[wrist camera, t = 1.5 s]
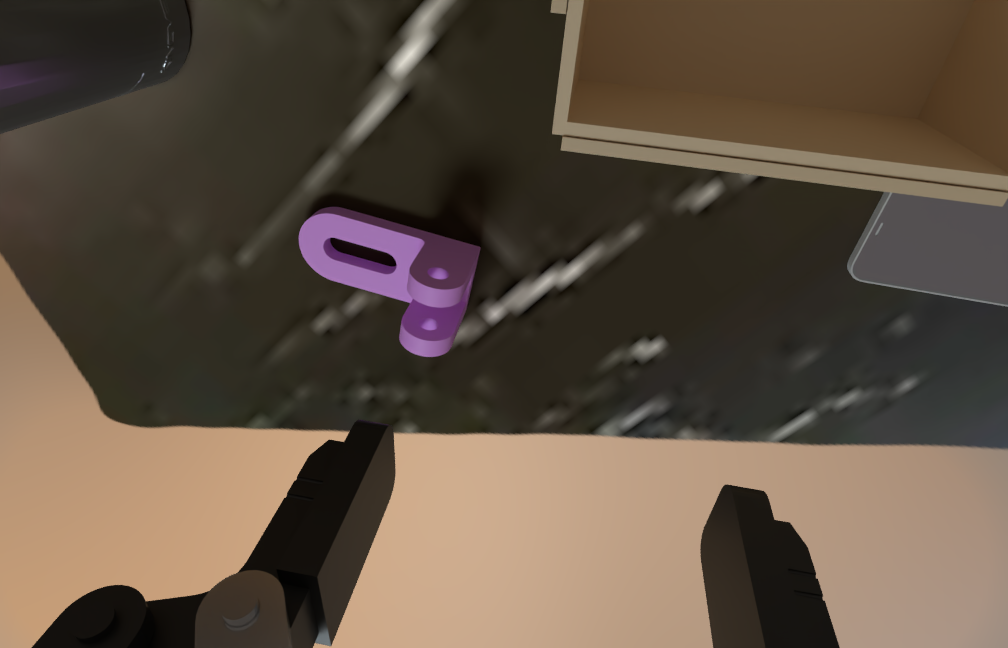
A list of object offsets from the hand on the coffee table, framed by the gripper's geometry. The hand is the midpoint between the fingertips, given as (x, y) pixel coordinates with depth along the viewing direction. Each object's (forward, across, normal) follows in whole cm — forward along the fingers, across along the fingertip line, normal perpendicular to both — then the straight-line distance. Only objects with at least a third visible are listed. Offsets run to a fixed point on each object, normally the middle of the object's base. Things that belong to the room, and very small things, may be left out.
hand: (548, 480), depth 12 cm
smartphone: (+28, -26, +4) cm, 38 cm away
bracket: (+28, +13, +11) cm, 33 cm away
